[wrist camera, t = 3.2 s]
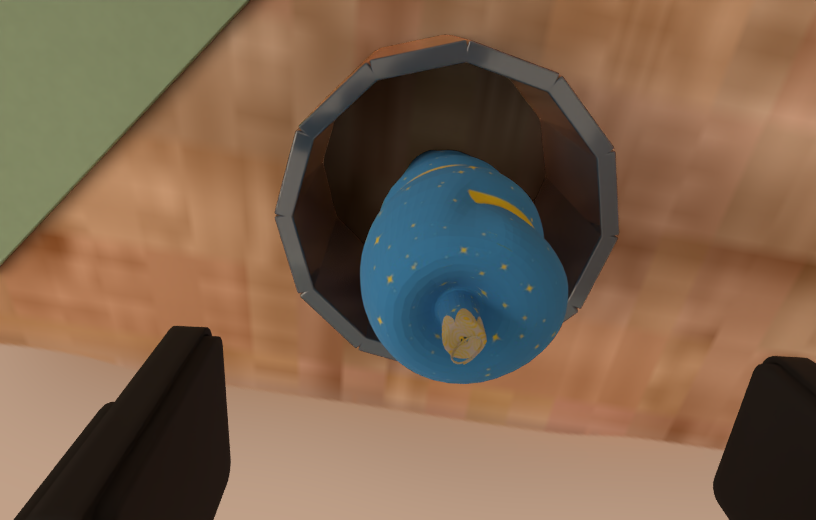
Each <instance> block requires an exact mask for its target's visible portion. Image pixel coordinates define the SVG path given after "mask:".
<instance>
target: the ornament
mask: <svg viewBox="0 0 816 520" xmlns="http://www.w3.org/2000/svg"><path fill="white" fill-rule="evenodd" d="M360 283H361V294H362V300H363V305H364V308H365V311H366V314H367V317H368V319H369V322H370V324H371V326H372V328H373V330H374V332H375V334H376V336H377V337H378V339H379V340H380V342H381V343H382V344H383V346H384V347H385V348H386V349H387V350H388V352H389V353H390V354H391V355H392V356H393V357H394V358H395V359H396V360H397V361H398V362H400V363H401V364H402V365H404V366H405V367H406V368H408V369H410V370H411V371H413V372H415V373H417V374H419V375H421V376H424V377H426V378H429V379H432V380H436V381H441V382H446V383H457V384H469V383H478V382H484V381H488V380H492V379H495V378H498V377H501V376H503V375H505V374H508V373H510V372H513V371H515V370H517V369H518V368H520V367H522V366H524V365H525V364H527V363H529V362H530V361H531V360H532V359H534V358H535V357H536V356H537V355H538V354H540V353H541V352H542V351H543V350H544V349H545V348H546V347H547V346H548V345H549V344H550V342H551V341H552V340H553V339H554V337H555V336H556V334H557V333H558V331H559V330H560V327H561V325H562V323H563V321H564V317H565V314H566V309H567V303H568V282H567V277H566V274H565V271H564V268H563V265H562V264H561V262H560V260H559V258H558V256H557V255H556V253H555V252H554V250H553V249H552V247H551V246H550V244H549V243H548V242H547V241H546V240H545V239H544V234H543V228H542V223H541V220H540V217H539V214H538V211H537V209H536V207H535V205H534V203H533V202H532V200H531V199H530V197H529V196H528V195H527V193H526V192H525V191H524V190H523V189H522V188H521V187H519V186H518V185H517V184H516V183H515V182H513V181H512V180H510V179H509V178H507V177H506V176H504V175H502V174H500V173H499V172H498V171H497V170H496V169H495V168H494V167H493V166H491V165H490V164H488V163H486V162H484V161H483V160H480V159H477V158H474V157H471V156H470V155H468V154H465V153H462V152H460V151H454V150H440V151H437V150H430V151H427V152H424V153H422V154H420V155H419V156H417V157H416V158H415V159H414V160H413V161H412V162H411V164H410V165H409V167H408V168H407V170H406V171H405V173H404V174H403V175H402V177H401V178H400V179H399V180H398V181H397V182H396V183H395V185H394V186H393V187H392V188H391V190H390V191H389V193H388V195H387V196H386V198H385V200H384V202H383V204H382V207H381V210H380V212H379V213H378V215H377V217H376V218H375V220H374V222H373V224H372V226H371V228H370V230H369V233H368V236H367V239H366V242H365V245H364V248H363V252H362V257H361V265H360Z"/></svg>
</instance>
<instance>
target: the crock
mask: <svg viewBox="0 0 816 520" xmlns="http://www.w3.org/2000/svg"><path fill="white" fill-rule="evenodd" d="M465 62H466V63H469V64H471V65H474V66H477V67H479V68H482V69H485V70H488V71H490V72H493V73H496V74H498V75H501V76H504V77H507V78H509V79H510V80H511V82H512V83H513V84H514V86H515V87H516V88H517V90H518V91H519V92H520V93H521V95H522V96H523V97H524V99H525V100H526V101H527V103H528V104H529V105H530V107H531V108H532V109H533V111H534V112H535V113H536V115H537V116H538V117H539V118H540V125H541V135H542V145H543V155H544V166H545V176H546V177H545V179H544V181H543V184H542V186H541V188H540V190H539V192H538V195H537V197H536V199H535V201H534V205H535V207H536V209H537V211H538V214H539V217H540V220H541V223H542V228H543V234H544V239H545V240H546V241H547V242H548V243H549V244H550V246H551V247H552V249H553V250H554V252H555V253H556V255H557V256H558V258H559V260H560V262H561V264H562V265H563V268H564V271H565V274H566V277H567V282H568V303H567V309H566V314H565V317H564V321H566V320H567V319H569V318H570V317H572V316H573V315H574V314H576V313H577V312H578V309H577V308H579V309H581V308H582V306H583V304H584V302H585V300H586V298H587V296H588V294H589V293H590V291H591V289H592V287H593V285H594V283H595V281H596V279H597V277H598V275H599V274H600V272H601V270H602V268H603V266H604V264H605V262H606V260H607V258H608V257H609V255H610V253H611V251H612V249H613V247H614V245H615V243H616V241H617V239H618V237H616V236H615V235H619V218H618V196H617V174H616V153H615V151H614V150H613V149H614V147H613V145H612V144H611V142H610V141H609V140H608V138H607V137H606V135H605V134H604V133H603V131H602V130H601V128H600V127H599V126H598V124H597V123H596V122H595V120H594V119H593V117H592V116H591V115H590V113H589V112H588V110H587V109H586V108H585V106H584V105H583V104H582V102H581V101H580V99H579V98H578V97H577V95H576V94H575V92H574V91H573V90H572V88H571V87H570V86H569V84H568V83H567V81H566V80H565V79H564V77H563V76H560V75H559V73H557V72H554V71H552V70H549V69H546V68H544V67H541V66H538V65H536V64H533V63H530V62H528V61H525V60H522V59H520V58H517V57H514V56H512V55H509V54H506V53H504V52H501V51H499V50H496V49H493V48H491V47H488V46H485V45H483V44H480V43H477V42H475V41H472V40H468V39H464V38H461V37H457V36H453V35H446V34H444V35H439V36H434V37H429V38H425V39H420V40H415V41H410V42H406V43H401V44H396V45H391V46H387V47H382V48H379V49H378V50H375V51H374V52H373V53H372V54H371V55H370V56H369V57H368V58H367V59H366V60H365V61H364V62H363V63H362V64H360V65H359V66H358V67H357V68H356V69H355V70H354V71H353V72H352V73H351V74H350V75H349V76H348V77H347V78H346V79H345V80H344V81H343V82H342V83H340V84H339V85H338V86H337V87H336V88H335V89H334V90H333V91H332V92H331V93H330V94H329V95H328V96H327V97H326V98H325V99H324V100H323V101H322V102H321V103H320V104H319V105H318V106H317V107H316V108H315V109H314V110H313V111H312V112H311V113H310V115H309V116H308V117H307V118H306V119H305V120H304V121H303V122H302V123H301V124H300V125H299V128H298V129H297V130H296V132H295V135H294V139H293V143H292V147H291V151H290V154H289V158H288V162H287V166H286V170H285V174H284V177H283V181H282V185H281V189H280V193H279V197H278V201H277V204H276V208H275V214H277V215H276V216H275V221H276V224H277V227H278V230H279V234H280V237H281V240H282V243H283V247H284V250H285V253H286V256H287V260H288V263H289V266H290V269H291V273H292V276H293V279H294V282H295V286H296V289H297V292H298V293H301V295H300V296H301V298H302V299H303V300H304V301H305V302H307V303H308V304H309V305H310V306H311V307H312V308H313V309H314V310H315V311H316V312H317V313H318V314H319V315H320V316H322V317H323V318H324V319H325V320H326V321H327V322H328V323H329V324H330V325H331V326H332V327H333V328H334V329H336V330H337V331H338V332H339V333H340V334H341V335H342V336H343V337H344V338H345V339H346V340H347V341H348V342H349V343H351V344H352V345H353V346H354V347H355V348H357V347H358V346H359V350H360V351H363V352H367V353H370V354H374V355H377V356H381V357H385V358H388V359H392V360H395V361H397V360H396V359H395V358H394V357H393V356H392V355H391V354H390V353H389V352H388V350H387V349H386V348H385V347H384V346H383V344H382V343H381V342H380V340H379V339H378V337H377V336H376V334H375V332H374V330H373V328H372V326H371V324H370V322H369V319H368V317H367V314H366V311H365V308H364V305H363V300H362V294H361V283H360V265H361V257H362V252H363V248H364V244H363V243H362V242H361V241H360V240H359V238H358V237H357V236H356V235H355V234H354V233H353V232H352V231H351V230H350V229H349V228H348V227H347V226H346V225H345V224H344V223H343V222H342V221H341V220H340V219H339V218H338V217H337V215H336V211H335V207H334V203H333V199H332V195H331V191H330V188H329V184H328V180H327V176H326V172H325V168H324V165H323V160H324V156H325V153H326V149H327V146H328V142H329V139H330V135H331V132H332V128H333V125H334V121H335V120H336V119H337V118H338V117H339V116H340V115H341V114H342V113H343V112H344V111H346V110H347V109H348V108H349V107H350V106H351V105H352V104H353V103H354V102H355V101H356V100H357V99H358V98H360V97H361V96H362V95H363V94H364V93H365V92H366V91H367V90H368V89H369V88H370V87H371V86H372V85H373V84H375V83H376V82H377V81H378V80H383V79H388V78H393V77H398V76H402V75H407V74H412V73H417V72H422V71H427V70H431V69H436V68H441V67H446V66H451V65H456V64H460V63H465ZM564 321H563V322H564Z"/></svg>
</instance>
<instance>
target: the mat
mask: <svg viewBox="0 0 816 520" xmlns="http://www.w3.org/2000/svg"><path fill="white" fill-rule="evenodd" d="M249 1H250V0H0V266H1V265H2V264H3V263H4V262H5V261H6V259H7V258H8V257H9V256H10V255H11V254H12V253H13V252H14V251H15V250H16V249H17V248H18V247H19V246H20V245H21V244H22V242H23V241H24V240H25V239H26V238H27V237H28V236H29V235H30V234H31V233H32V232H33V231H34V230H35V229H36V228H37V227H38V225H39V224H40V223H41V222H42V221H43V220H44V219H45V218H46V217H47V216H48V215H49V214H50V213H51V212H52V211H53V209H54V208H55V207H56V206H57V205H58V204H59V203H60V202H61V201H62V200H63V199H64V198H65V197H66V196H67V195H68V194H69V192H70V191H71V190H72V189H73V188H74V187H75V186H76V185H77V184H78V183H79V182H80V181H81V180H82V179H83V178H84V177H85V175H86V174H87V173H88V172H89V171H90V170H91V169H92V168H93V167H94V166H95V165H96V164H97V163H98V162H99V161H100V160H101V158H102V157H103V156H104V155H105V154H106V153H107V152H108V151H109V150H110V149H111V148H112V147H113V146H114V145H115V144H116V143H117V141H118V140H119V139H120V138H121V137H122V136H123V135H124V134H125V133H126V132H127V131H128V130H129V129H130V128H131V127H132V126H133V124H134V123H135V122H136V121H137V120H138V119H139V118H140V117H141V116H142V115H143V114H144V113H145V112H146V111H147V110H148V109H149V107H150V106H151V105H152V104H153V103H154V102H155V101H156V100H157V99H158V98H159V97H160V96H161V95H162V94H163V93H164V92H165V90H166V89H167V88H168V87H169V86H170V85H171V84H172V83H173V82H174V81H175V80H176V79H177V78H178V77H179V76H180V75H181V73H182V72H183V71H184V70H185V69H186V68H187V67H188V66H189V65H190V64H191V63H192V62H193V61H194V60H195V59H196V58H197V56H198V55H199V54H200V53H201V52H202V51H203V50H204V49H205V48H206V47H207V46H208V45H209V44H210V43H211V42H212V41H213V39H214V38H215V37H216V36H217V35H218V34H219V33H220V32H221V31H222V30H223V29H224V28H225V27H226V26H227V25H228V24H229V22H230V21H231V20H232V19H233V18H234V17H235V16H236V15H237V14H238V13H239V12H240V11H241V10H242V9H243V8H244V6H245V5H246V4H247V3H248V2H249Z"/></svg>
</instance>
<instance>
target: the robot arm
mask: <svg viewBox="0 0 816 520" xmlns="http://www.w3.org/2000/svg"><path fill="white" fill-rule="evenodd" d="M230 463H231V461H230V444H229V431H228V416H227V402H226V387H225V373H224V358H223V345H222V340H221V338H220V337H217V336H212V334H211V331H210V329H209V328H208V327H188V326H173V327H172V328H171V329H170V330H169V331H168V332H167V334H166V335H165V336H164V338H163V339H162V340H161V342H160V343H159V344H158V345H157V347H156V348H155V349H154V351H153V352H152V353H151V355H150V356H149V357H148V359H147V360H146V361H145V363H144V364H143V365H142V367H141V368H140V369H139V371H138V372H137V373H136V374H135V376H134V377H133V378H132V380H131V381H130V382H129V384H128V385H127V386H126V388H125V389H124V390H123V392H122V393H121V394H120V396H119V397H118V398H117V400H116V401H115V402H110V403H107V404H105V405H104V406H103V407H102V408H101V409H100V410H99V411H98V412H97V414H96V415H95V416H94V418H93V419H92V420H91V422H90V423H89V424H88V425H87V427H86V428H85V429H84V430H83V432H82V433H81V434H80V435H79V437H78V438H77V439H76V441H75V442H74V443H73V444H72V446H71V447H70V448H69V449H68V451H67V452H66V454H65V455H64V456H63V457H62V458H61V460H60V461H59V462H58V464H57V465H56V466H55V467H54V469H53V470H52V471H51V472H50V474H49V475H48V476H47V478H46V479H45V480H44V481H43V483H42V484H41V485H40V487H39V488H38V489H37V490H36V492H35V493H34V494H33V495H32V497H31V498H30V499H29V501H28V502H27V503H26V504H25V506H24V507H23V508H22V510H21V511H20V512H19V513H18V515H17V516H16V517H15V518H14V520H213V519H214V517H215V514H216V511H217V509H218V506H219V503H220V501H221V498H222V495H223V493H224V490H225V487H226V485H227V482H228V478H229V473H230ZM713 490H714V495H715V498H716V500H717V502H718V503H719V505H720V507H721V508H722V509H723V511H724V512H725V514H726V515H727V517H728V518H729V520H816V363H814V362H813V361H811V360H810V359H808V358H800V357H781V356H772V357H769V358H767V359H766V360H765V361H764V362H763V364H760V365H758V366H757V367H756V368H755V370H754V371H753V374H752V377H751V379H750V382H749V385H748V388H747V390H746V393H745V396H744V399H743V401H742V404H741V407H740V409H739V412H738V415H737V418H736V420H735V423H734V426H733V429H732V431H731V434H730V437H729V439H728V442H727V445H726V448H725V450H724V453H723V456H722V459H721V461H720V464H719V467H718V470H717V472H716V475H715V478H714V482H713Z"/></svg>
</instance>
